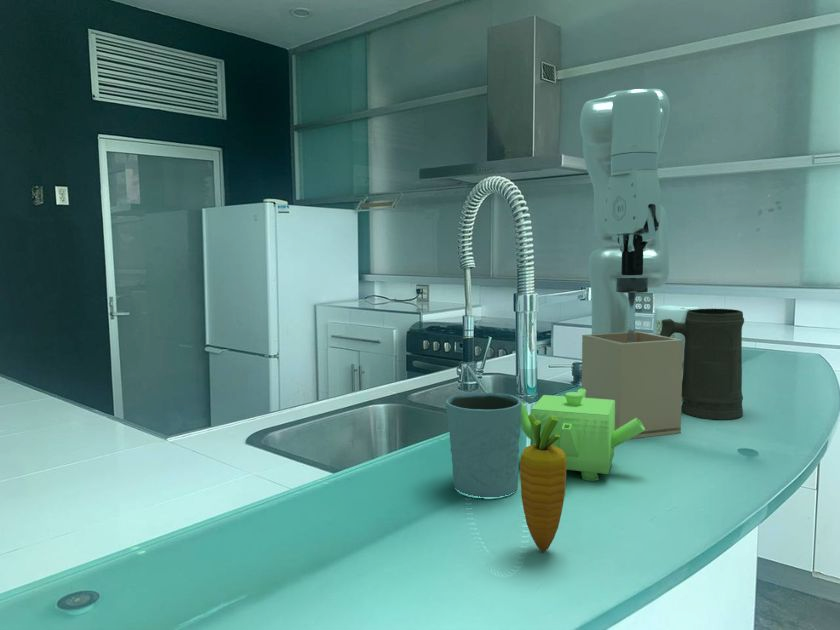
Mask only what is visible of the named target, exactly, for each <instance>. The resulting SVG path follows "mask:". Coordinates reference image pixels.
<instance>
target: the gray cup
mask: <svg viewBox="0 0 840 630" xmlns="http://www.w3.org/2000/svg"><path fill="white" fill-rule="evenodd" d="M522 402H523V401H522V399H521V398H519V397H517V396H515V395H512V394H508V393H500V392H469V393H462V394H456V395H453V396H450V397H449V398H447V399H445V410H446V418H447V426H448V433H449V441H450V442H449V443H450V453H451V463H452V465H451V466H452V480H453V487H454V486H455V488H456V489H457V490H459V491H460V492H462V493H465V494H468V495H473V496H478V497H479V496H480V497H500V496H505V495H509V494H511V493H513V492H515V491H516V492H517V490H518V486H519V473H520V466H519V454H520V445H519V444H520V436H521V428H522V427H521V407H522ZM455 488H454V489H455ZM516 492H515V493H516Z"/></svg>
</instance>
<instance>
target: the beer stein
mask: <svg viewBox="0 0 840 630" xmlns="http://www.w3.org/2000/svg"><path fill="white" fill-rule="evenodd" d="M744 323H745V318H744V312H743V311H742V310H739V309H733V308H732V309H730V308H700V309H694V310H688V311H687V316H686V319H685V323H684V324H683V323H678V322H674V321H673V320H672V319H664V320H662V329H661V333H660V336H665V337H670V336H671V335H672V334H674V333H681V334H683V335H684V337H685V347H684V367H683V380H682V398H683V400H682V402H681V412H683V413H684V414H686V415H689V416H692V417H695V418H701V419H708V420H719V421H720V420H734V419H735V420H736V419H738V418H741V417H742V416H743V415H744V409H743V400H744V396H743V392H742V390H743V387H742V384H743V383H742V382H743V360H742V359H743V355H742V354H743V353H742V350H743V349H742V347H743V341H742V340H743V339H742V337H743V335H742V334H743V331H742V330H743V325H744Z"/></svg>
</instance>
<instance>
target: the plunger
mask: <svg viewBox="0 0 840 630" xmlns="http://www.w3.org/2000/svg"><path fill="white" fill-rule="evenodd" d="M648 290H649V288H648V278H647V277H618V278H616V292H623V293H627V297H628V328H627V343H631V342H634V341H635V332H636V328H635V327H636V325H635V324H636V293H637V294H638V293H648V292H649V291H648Z"/></svg>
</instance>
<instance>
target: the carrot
mask: <svg viewBox="0 0 840 630" xmlns="http://www.w3.org/2000/svg"><path fill="white" fill-rule="evenodd" d="M528 415H529V416H528V418H529V421H530V423H531V426H532V429H533V434H534V438H535V442H536V445H531V444H530V445H528V446H526V447H525V448H523V451H522V453H521V455H520V458H519V473H520V476H519V479H520V493H521V494H520V495H521V501H522V507H523V512H524V513H523V514H524V517H525V518H524V519H525V522H526V525H527V528H528V531H529V534H530V536H531V538H532V540H533V542H534V543H535V545H536V548H537V549H538V550H539V551H540V552H542V551H544V552H546V551H547V550H548V549H549V548H550V546H551V544H552V543H553V541H554V539H555V536H556V534H557V533H558V532H557V531H558V529H559V525H560V521H561V517H562V513H563V508H564V501H565V497H566V484H567V483H566V481H567V470H566V463H567V459H566V454H565V452H564V451H563V450H562V449H560V448H558V447H555V446H553V445H552V444H553V443H554V442H555V441H556V440H558V439H559V438H560V435H558V434H555V435H553V436H552V437H551V438H550V439H549V437H550V434H551V433H552V431H553V429H554V428H555V426H556V424H557V422H558V418H557V417H556V416H554V415H550V417H549V419H548V421H547V423H546V425H545V427H544V429H543V432H542V436H541V439H540V429H541V422H540V420H537V421H536V419H535V416H534V415H533V414H531V413H530V414H528Z"/></svg>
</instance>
